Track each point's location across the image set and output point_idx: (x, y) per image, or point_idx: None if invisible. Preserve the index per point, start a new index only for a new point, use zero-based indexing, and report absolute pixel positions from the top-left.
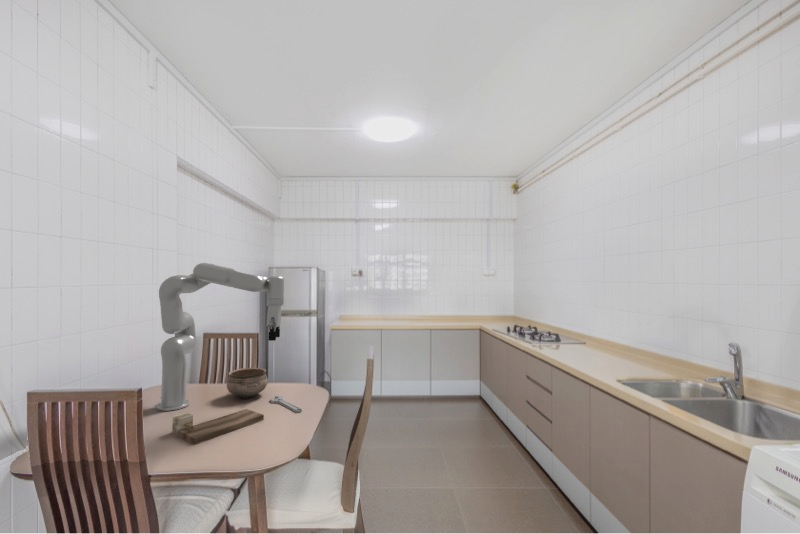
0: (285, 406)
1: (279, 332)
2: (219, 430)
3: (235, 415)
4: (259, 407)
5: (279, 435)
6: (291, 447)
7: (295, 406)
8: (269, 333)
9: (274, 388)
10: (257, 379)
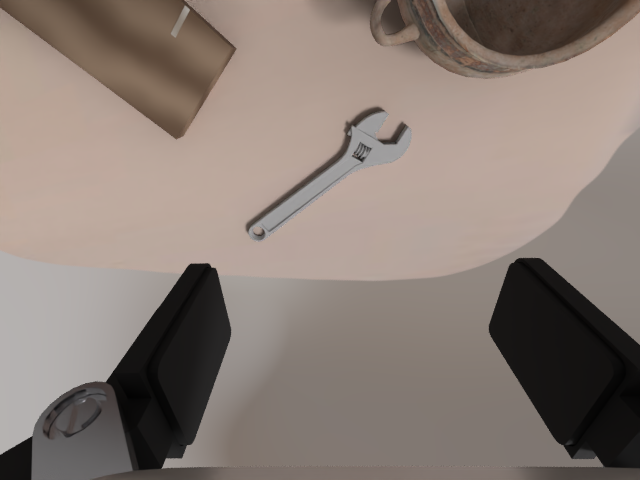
0: (307, 183)
1: (529, 390)
2: (2, 7)
3: (151, 20)
4: (306, 85)
5: (83, 207)
6: (31, 245)
7: (285, 220)
8: (143, 353)
9: (568, 87)
10: (436, 33)
